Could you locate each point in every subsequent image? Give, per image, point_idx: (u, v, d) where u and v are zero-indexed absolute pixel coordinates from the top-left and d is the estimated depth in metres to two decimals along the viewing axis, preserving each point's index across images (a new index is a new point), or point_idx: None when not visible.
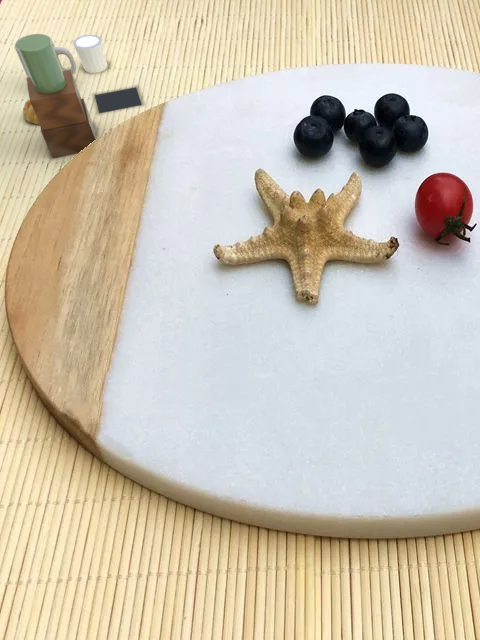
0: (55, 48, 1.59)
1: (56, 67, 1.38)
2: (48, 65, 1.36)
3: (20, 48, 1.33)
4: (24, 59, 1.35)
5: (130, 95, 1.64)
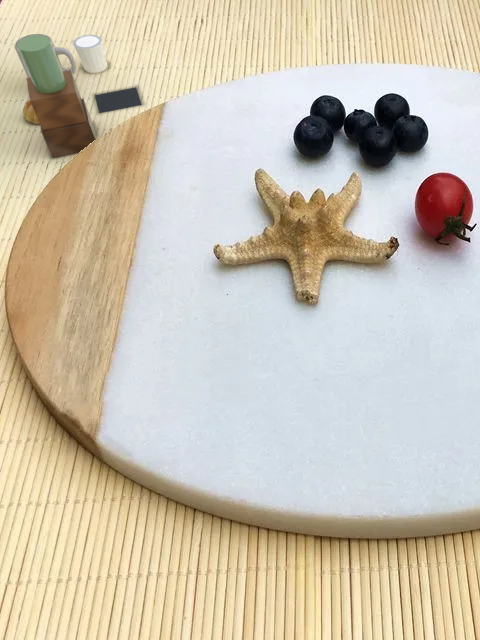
0: (55, 48, 1.59)
1: (56, 67, 1.38)
2: (48, 65, 1.36)
3: (20, 48, 1.33)
4: (24, 59, 1.35)
5: (130, 95, 1.64)
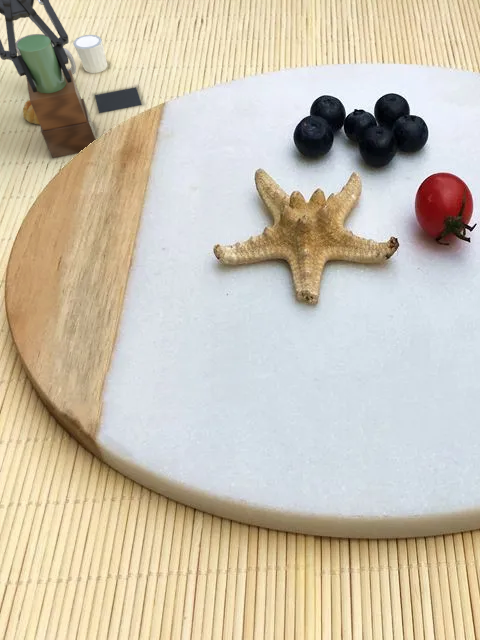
0: None
1: (56, 67, 1.38)
2: (48, 65, 1.36)
3: (20, 48, 1.33)
4: (24, 59, 1.35)
5: (130, 95, 1.64)
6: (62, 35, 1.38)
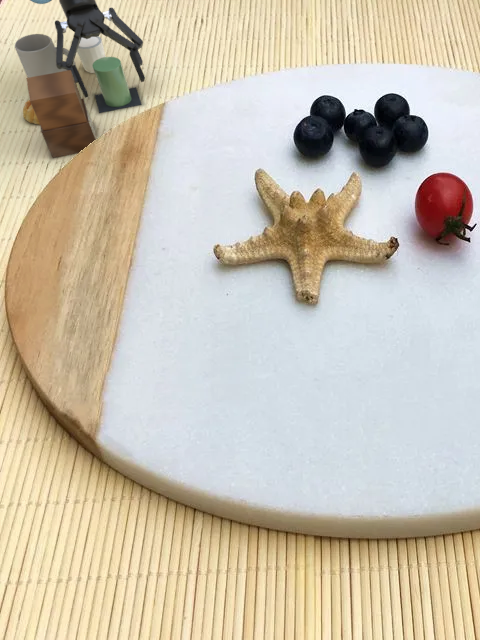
0: (55, 48, 1.59)
1: (125, 84, 1.59)
2: (118, 83, 1.57)
3: (95, 68, 1.54)
4: (98, 78, 1.55)
5: None
6: (138, 41, 1.58)
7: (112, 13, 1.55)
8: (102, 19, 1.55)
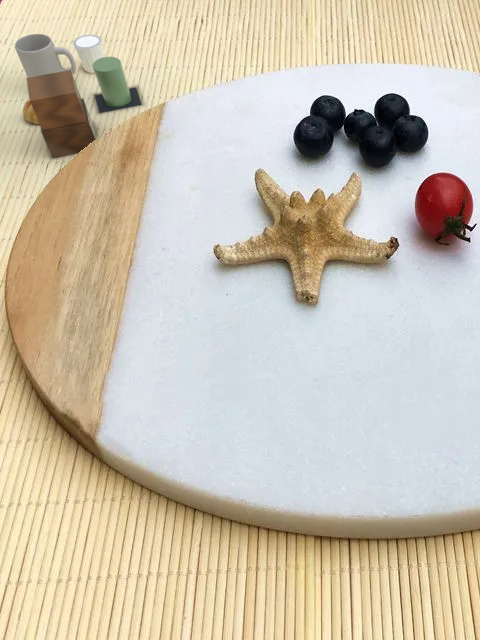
0: (55, 48, 1.59)
1: (125, 84, 1.59)
2: (118, 83, 1.57)
3: (95, 68, 1.54)
4: (98, 78, 1.55)
5: None
6: None
7: None
8: None
